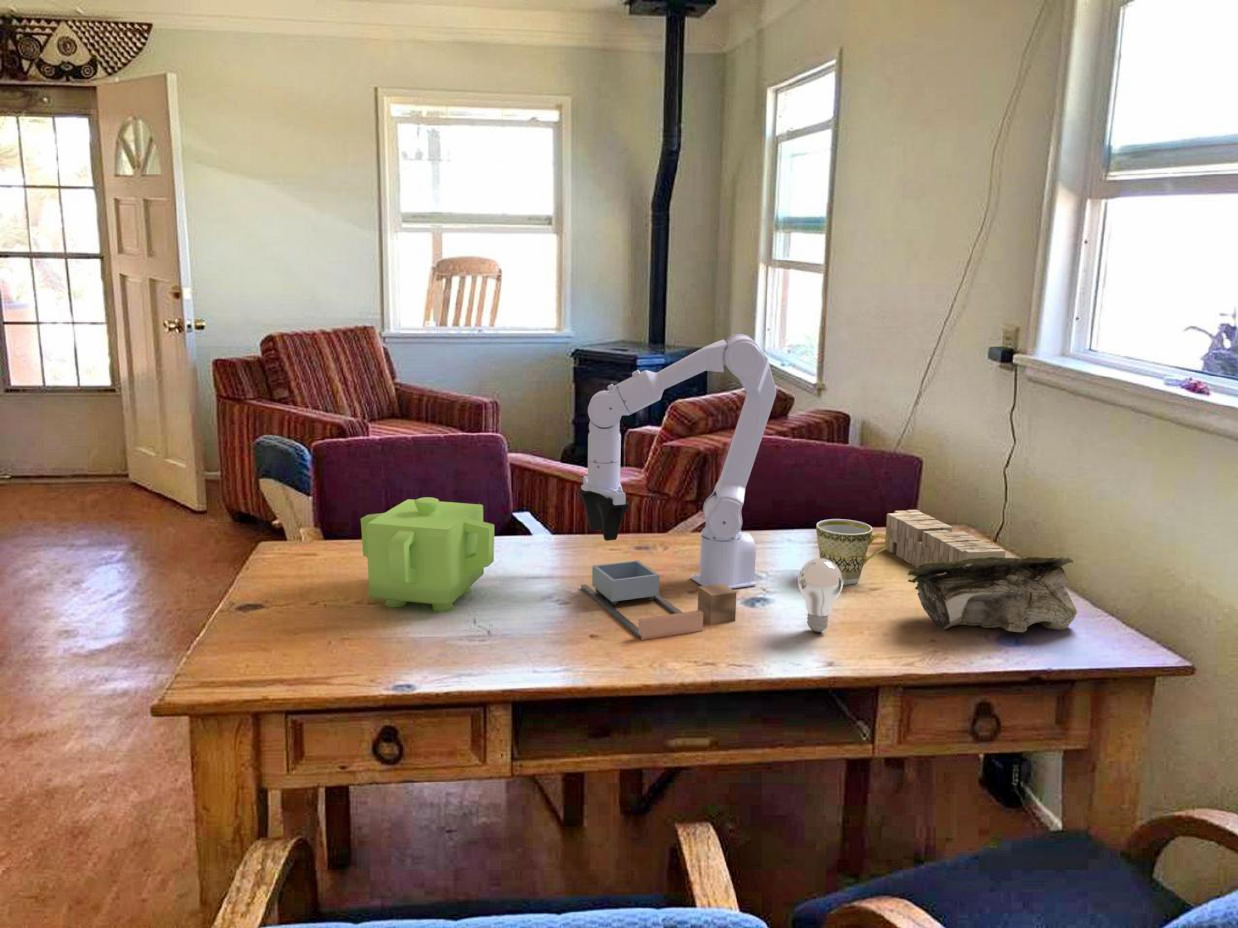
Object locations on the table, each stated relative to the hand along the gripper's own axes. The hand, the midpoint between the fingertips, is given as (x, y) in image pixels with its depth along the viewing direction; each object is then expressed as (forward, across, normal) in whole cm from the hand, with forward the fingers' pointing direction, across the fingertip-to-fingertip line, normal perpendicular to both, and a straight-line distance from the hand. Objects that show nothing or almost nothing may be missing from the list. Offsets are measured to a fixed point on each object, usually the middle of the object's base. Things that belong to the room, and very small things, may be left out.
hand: (603, 534), depth 179 cm
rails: (+8, +16, 0) cm, 18 cm away
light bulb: (+9, +35, +22) cm, 42 cm away
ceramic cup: (+9, +16, +42) cm, 46 cm away
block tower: (+9, +16, +62) cm, 65 cm away
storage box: (+9, -2, -31) cm, 32 cm away
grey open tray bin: (+8, +10, 0) cm, 13 cm away
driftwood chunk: (+9, +42, +50) cm, 66 cm away
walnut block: (+8, +24, +10) cm, 27 cm away
